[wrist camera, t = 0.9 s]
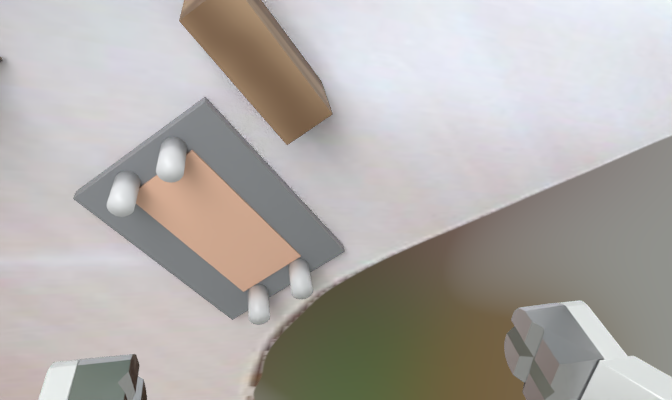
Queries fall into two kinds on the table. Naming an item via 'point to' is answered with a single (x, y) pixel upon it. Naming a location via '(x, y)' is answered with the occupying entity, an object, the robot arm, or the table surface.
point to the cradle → (213, 214)
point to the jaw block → (259, 62)
